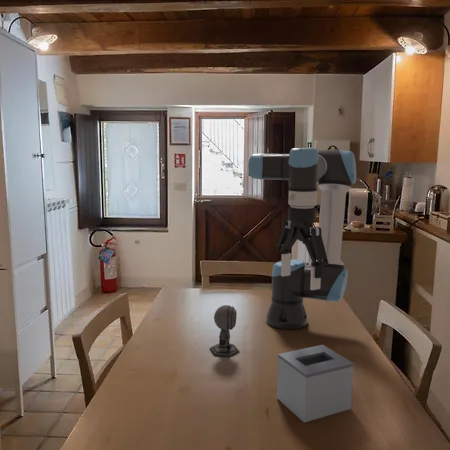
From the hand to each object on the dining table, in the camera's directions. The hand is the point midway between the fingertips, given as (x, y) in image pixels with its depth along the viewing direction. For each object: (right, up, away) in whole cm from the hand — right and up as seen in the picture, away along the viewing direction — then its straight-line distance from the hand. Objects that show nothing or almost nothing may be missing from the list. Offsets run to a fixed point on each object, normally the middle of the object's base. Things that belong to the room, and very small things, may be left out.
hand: (299, 282), depth 127 cm
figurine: (-21, -24, +19) cm, 37 cm away
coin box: (+1, -29, -11) cm, 31 cm away
